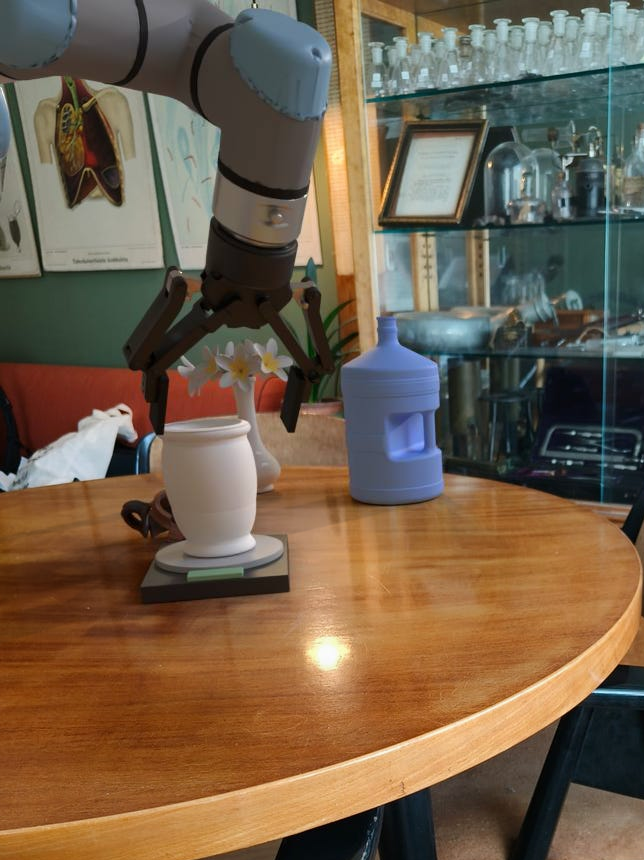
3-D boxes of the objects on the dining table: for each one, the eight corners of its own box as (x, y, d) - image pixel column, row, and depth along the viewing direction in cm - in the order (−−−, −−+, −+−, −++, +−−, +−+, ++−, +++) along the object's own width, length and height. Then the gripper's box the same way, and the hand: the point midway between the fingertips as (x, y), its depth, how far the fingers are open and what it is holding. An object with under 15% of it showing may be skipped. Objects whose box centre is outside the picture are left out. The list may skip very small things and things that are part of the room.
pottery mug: (209, 531, 129) (217, 487, 124) (206, 575, 123) (214, 530, 117) (121, 518, 125) (125, 471, 119) (114, 563, 119) (117, 516, 113)
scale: (142, 604, 97) (138, 580, 96) (163, 558, 115) (160, 537, 114) (290, 591, 100) (287, 567, 99) (288, 548, 118) (286, 527, 117)
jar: (180, 566, 101) (159, 433, 95) (170, 545, 110) (150, 422, 104) (272, 553, 105) (258, 425, 99) (256, 534, 114) (241, 415, 108)
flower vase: (200, 487, 158) (179, 339, 149) (305, 480, 161) (290, 335, 152) (192, 502, 146) (169, 343, 137) (305, 495, 149) (290, 339, 140)
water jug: (332, 503, 143) (316, 319, 133) (377, 484, 156) (365, 316, 146) (420, 508, 137) (410, 317, 127) (458, 488, 151) (452, 314, 141)
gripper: (113, 235, 68) (104, 452, 82) (400, 262, 81) (348, 446, 96) (92, 186, 71) (86, 402, 86) (369, 220, 85) (324, 403, 99)
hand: (224, 426), depth 91 cm, fingers open, 13 cm apart
